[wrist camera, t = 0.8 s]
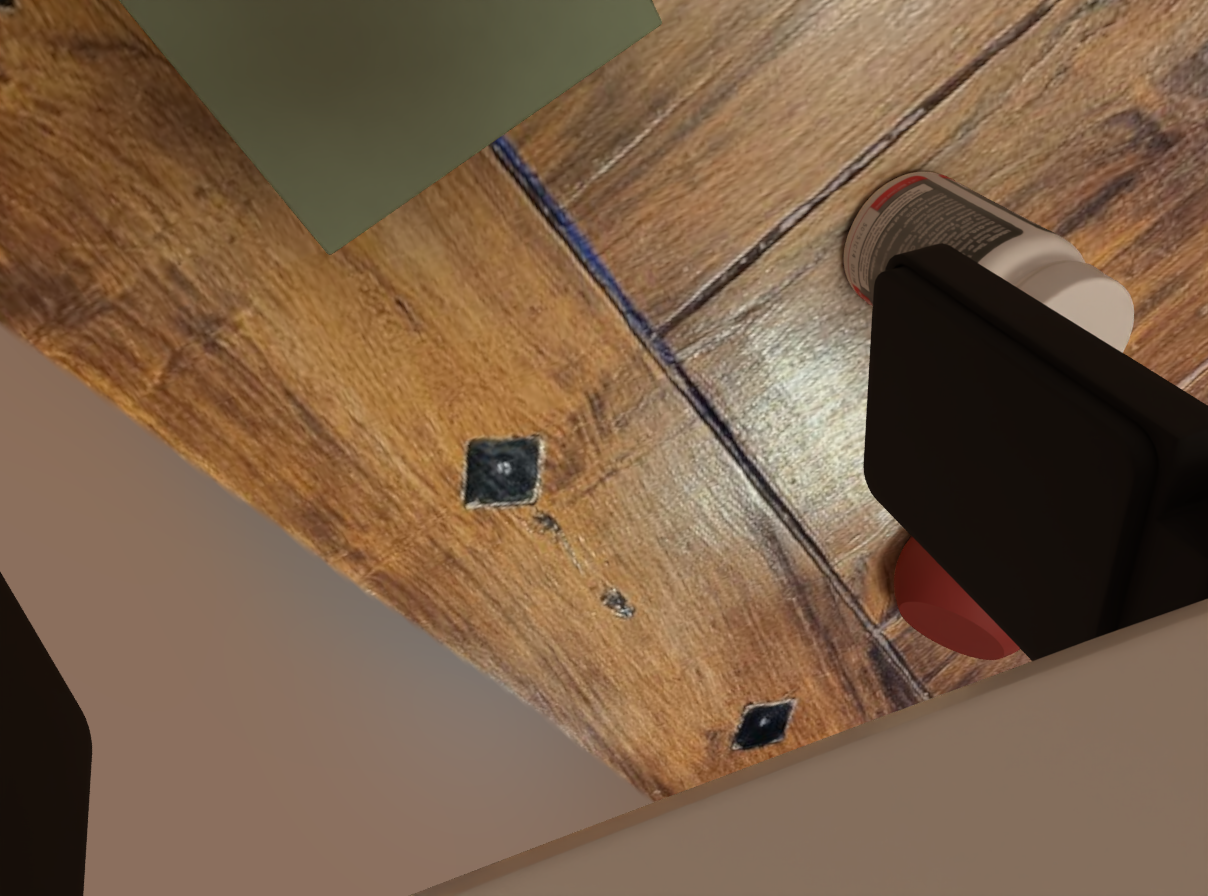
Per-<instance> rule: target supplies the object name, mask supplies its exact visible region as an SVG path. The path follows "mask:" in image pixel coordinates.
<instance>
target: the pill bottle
mask: <svg viewBox="0 0 1208 896" xmlns="http://www.w3.org/2000/svg"><path fill="white" fill-rule="evenodd" d="M940 243H944V244H947V245H949V246H951V247H953V248H954V249H956V250H958V251H959V252H961V253H962V254H964V255H966V256H967V257H969V258H970V259H972V260H974V261H975V262H977V263H979V264H980V265H982V266H983V267H985V268H987V269H988V270H990V271H991V272H993V273H995V274H996V275H998V276H1000V277H1001V278H1003V279H1004V280H1006V281H1008V282H1009V283H1011V284H1012V285H1014V286H1016V287H1017V288H1019V289H1020V290H1022V291H1024V292H1025V293H1027V294H1029V295H1030V296H1032V297H1033V298H1035V299H1037V300H1038V301H1040V302H1041V303H1043V304H1045V305H1046V306H1048V307H1049V308H1051V309H1053V310H1054V311H1056V312H1058V313H1059V314H1061V315H1062V316H1064V317H1066V318H1067V319H1069V320H1070V321H1072V322H1074V323H1075V324H1077V325H1078V326H1080V327H1082V328H1083V329H1085V330H1087V331H1088V332H1090V333H1091V334H1093V335H1095V336H1096V337H1098V338H1099V339H1101V340H1103V341H1104V342H1106V343H1107V344H1109V345H1111V346H1112V347H1114V348H1116V349H1117V350H1119V351H1120V352H1122V353H1123V351H1124V349H1125V347H1126V345H1127V343H1128V341H1129V338H1130V335H1131V331H1132V328H1133V322H1134V307H1133V303H1132V299H1131V296H1130V294H1129V292H1128V291H1127V290H1126V289H1125V287H1124V286H1123V285H1121V284H1120V283H1119V282H1118V281H1116V280H1114V279H1112V278H1111V277H1109V276H1107V275H1106V274H1104V273H1103V272H1101V271H1100V270H1099V269H1097V268H1096V267H1094V266H1092V265H1090V264H1087V263H1085V261H1084V259H1083V257H1082V255H1081V254H1080V252H1079V251H1078V250H1077V249H1076V248H1075V247H1074V246H1073V245H1072V244H1071V243H1070V242H1068V241H1067V240H1065V239H1064V238H1062V237H1060V236H1059V235H1057V234H1055V233H1054V232H1052V231H1049V230H1047V229H1045V228H1043V227H1041V226H1039V225H1037V224H1036V223H1034V222H1032V221H1030V220H1028V219H1026V218H1024V217H1022V216H1020V215H1018V214H1016V213H1014V212H1012V211H1010V210H1008V209H1007V208H1005V207H1003V206H1001V205H999V204H997V203H995V202H993V201H991V200H989V199H987V198H986V197H984V196H982V195H980V194H978V193H976V192H974V191H973V190H971V189H969V188H967V187H965V186H964V185H962V184H960V183H958V182H956V181H955V180H953V179H951V178H948V177H946V176H944V175H941V174H938V173H933V172H914V173H909V174H905V175H903V176H900V177H898V178H896V179H893V180H892V181H890V182H888V183H887V184H885V185H884V186H882V187H881V188H880V189H878V190H877V191H876V192H875V193H874V194H873V195H872V196H871V197H870V198H869V199H868V200H867V201H866V203H865V204H864V205H863V207H862V208H861V209H860V211H859V213H858V214H857V216H856V218H855V220H854V222H853V224H852V226H851V228H850V230H849V233H848V236H847V239H846V243H845V249H844V268H845V273H846V276H847V279H848V281H849V283H850V285H851V287H852V288H853V289H854V291H855V292H856V293H857V294H858V295H859V296H860V297H861V298H862V299H863V300H865V301H866V302H867V303H868V304H870V305H871V306H873V293H874V284H875V280H876V278H877V276H878V275H879V274H880V273H881V272H884V271H885V268H886V266H887V263H888V261H889V260H890V259H891V258H892V257H893V256H894V255H897V254H901V253H905V252H909V251H912V250H916V249H920V248H924V247H927V246H931V245H935V244H940Z"/></svg>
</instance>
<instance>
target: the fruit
mask: <svg viewBox="0 0 1208 896" xmlns="http://www.w3.org/2000/svg"><path fill="white" fill-rule="evenodd" d="M894 592H895V598H896V602H897V606H898V608H899V611H900V613H901V615H902V617H903V618H904V619H905V620H906V622H907V623H908V624H910V625H911V626H912V627H913V628H914V629H916V630H917V631H918V632H920V633H921V634H923V635H924V636H926V637H927V638H929V639H931V640H932V641H934V642H936V643H938V644H940V645H942V646H944V647H946V648H948V649H951V650H953V651H956V652H958V653H961V654H964V655H967V656H970V657H974V658H979V659H985V660H996V659H1000V658H1003V657H1006V656H1008V655H1011V654H1013V653H1015V652H1016V651H1018V650H1020V648H1019V647H1018V646H1017V645H1016V644H1015V642H1014V641H1013V640H1012V639H1011V638H1010V637H1009V636H1008V635H1007V634H1006V633H1005V632H1004V631H1003V630H1002V629H1001V628H1000V627H999V626H998V625H997V624H996V623H995V622H994V621H993V620H992V619H991V618H990V617H989V616H988V615H987V613H986V612H985V611H984V610H983V609H982V608H981V607H980V606H979V605H978V604H977V603H976V602H975V601H974V600H973V599H972V598H971V597H970V596H969V595H968V594H967V593H966V592H965V591H964V590H963V589H962V588H961V587H960V586H959V585H958V583H957V582H956V581H955V580H954V579H953V578H952V577H951V576H950V575H949V574H948V573H947V572H946V571H945V570H944V569H943V568H942V567H941V566H940V565H939V564H938V563H937V562H936V561H935V560H934V559H933V558H932V557H931V556H930V554H929V553H928V552H927V551H926V550H925V549H924V548H923V547H922V546H921V545H920V544H919V543H918V542H917V541H916V540H915V539H914V538H913V537H912V536H911V537H910V539H909V540H908V541H907V543H906V544H905V546H904V548H903V549H902V551H901V553H900V556H899V558H898V561H897V564H896V568H895V575H894Z"/></svg>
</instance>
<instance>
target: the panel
mask: <svg viewBox="0 0 1208 896" xmlns="http://www.w3.org/2000/svg"><path fill="white" fill-rule="evenodd" d="M119 1H120V2H121V4H122V5H123V6H124V7H125V8H126V10H127V11H128V12H129V13H130V15H131V16H132V17H133V18H134V19H135V21H136V22H137V23H138V24H139V25H140V27H141V28H142V29H143V30H144V32H145V33H146V34H147V35H148V36H149V38H150V39H151V40H152V41H153V42H154V44H155V45H156V46H157V47H158V49H159V50H160V51H161V52H162V53H163V55H164V56H165V57H166V58H167V60H168V61H169V62H170V63H171V64H172V66H173V67H174V68H175V69H176V70H177V72H178V73H179V74H180V75H181V77H182V78H183V79H184V80H185V81H186V83H187V84H188V85H189V86H190V87H191V89H192V90H193V91H194V92H195V94H196V95H197V96H198V97H199V98H200V100H201V101H202V102H203V103H204V104H205V106H206V107H207V108H208V109H209V111H210V112H211V113H212V114H213V115H214V117H215V118H216V119H217V120H218V121H219V123H220V124H221V125H222V126H223V128H224V129H225V130H226V131H227V132H228V134H229V135H230V136H231V137H232V139H233V140H234V141H235V142H236V143H237V145H238V146H239V147H240V148H241V149H242V151H243V152H244V153H245V154H246V156H247V157H248V158H249V159H250V160H251V162H252V163H253V164H254V165H255V166H256V168H257V169H258V170H259V171H260V173H261V174H262V175H263V176H264V177H265V179H266V180H267V181H268V182H269V183H270V185H271V186H272V187H273V188H274V190H275V191H276V192H277V193H278V194H279V196H280V197H281V198H282V199H283V200H284V202H285V203H286V204H287V205H288V207H289V208H290V209H291V210H292V211H293V213H294V214H295V215H296V216H297V218H298V219H299V220H300V221H301V222H302V224H303V225H304V226H305V227H306V228H307V230H308V231H309V232H310V233H311V235H312V236H313V237H314V238H315V239H316V241H317V242H318V243H319V244H320V245H321V247H322V248H323V249H324V250H325V252H326V253H327V254H329V255H331V254H333V253H334V252H336V251H337V250H339V249H340V248H342V247H343V246H345V245H346V244H347V243H349V242H350V241H352V240H353V239H355V238H356V237H357V236H359V235H360V234H362V233H363V232H365V231H366V230H367V229H369V228H370V227H372V226H373V225H375V224H376V223H377V222H379V221H380V220H382V219H383V218H385V217H386V216H388V215H389V214H390V213H392V212H393V211H395V210H396V209H398V208H399V207H400V206H402V205H403V204H405V203H406V202H408V201H409V200H410V199H412V198H413V197H415V196H416V195H418V194H419V193H421V192H422V191H423V190H425V189H426V188H428V187H429V186H431V185H432V184H433V183H435V182H436V181H438V180H439V179H441V178H442V177H443V176H445V175H446V174H448V173H449V172H451V171H452V170H454V169H455V168H456V167H458V166H459V165H461V164H462V163H464V162H465V161H466V160H468V159H469V158H471V157H472V156H474V155H475V154H476V153H478V152H479V151H481V150H482V149H484V148H485V147H486V146H488V145H489V144H491V143H492V142H494V141H495V140H497V139H498V138H499V137H501V136H502V135H504V134H505V133H507V132H508V131H509V130H511V129H512V128H514V127H515V126H517V125H518V124H519V123H521V122H522V121H524V120H525V119H527V118H528V117H530V116H531V115H532V114H534V113H535V112H537V111H538V110H540V109H541V108H542V107H544V106H545V105H547V104H548V103H550V102H551V101H552V100H554V99H555V98H557V97H558V96H560V95H561V94H563V93H564V92H565V91H567V90H568V89H570V88H571V87H573V86H574V85H575V84H577V83H578V82H580V81H581V80H583V79H584V78H585V77H587V76H588V75H590V74H591V73H593V72H594V71H595V70H597V69H598V68H600V67H601V66H603V65H604V64H606V63H607V62H608V61H610V60H611V59H613V58H614V57H616V56H617V55H618V54H620V53H621V52H623V51H624V50H626V49H627V48H628V47H630V46H631V45H633V44H634V43H636V42H637V41H639V40H640V39H641V38H643V37H644V36H646V35H647V34H649V33H650V32H651V31H653V30H654V29H656V28H657V27H659V26H660V25H661V24H662V21H661V18H660V16H659V14H658V12H657V10H656V8H655V6H654V4H653V1H652V0H119Z"/></svg>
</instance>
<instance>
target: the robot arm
mask: <svg viewBox="0 0 1208 896" xmlns="http://www.w3.org/2000/svg"><path fill="white" fill-rule="evenodd" d="M864 475H865V480H866V482H867V485H868V488H869V489H870V491H871V493H872V495H873V496H874V497H875V498H876V500H877V501H878V502H879V503H880V504H881V505H882V506H883V507H884V508H885V509H886V510H887V511H888V512H889V513H890V514H891V515H892V516H893V517H894V518H895V519H896V520H897V521H898V522H899V523H900V524H901V525H902V527H903V528H904V529H905V530H906V531H907V532H908V533H909V534H910V535H911V536H912V537H913V538H914V539H915V540H916V541H917V542H918V543H919V544H920V545H921V546H922V547H923V548H924V549H925V550H926V551H927V552H928V553H929V554H930V556H931V557H932V558H933V559H934V560H935V561H936V562H937V563H938V564H939V565H940V566H941V567H942V568H943V569H944V570H945V571H946V572H947V573H948V574H949V575H950V576H951V577H952V578H953V579H954V580H955V581H956V582H957V583H958V585H959V586H960V587H961V588H962V589H963V590H964V591H965V592H966V593H967V594H968V595H969V596H970V597H971V598H972V599H973V600H974V601H975V602H976V603H977V604H978V605H979V606H980V607H981V608H982V609H983V610H984V611H985V612H986V613H987V615H988V616H989V617H990V618H991V619H992V620H993V621H994V622H995V623H996V624H997V625H998V626H999V627H1000V628H1001V629H1002V630H1003V631H1004V632H1005V633H1006V634H1007V635H1008V636H1009V637H1010V638H1011V639H1012V640H1013V641H1014V642H1015V644H1016V645H1017V646H1018V647H1019V648H1020V649H1021V650H1022V651H1023V652H1024V653H1025V654H1026V655H1027V656H1028V657H1029V658H1030V659H1031V660H1032V662H1029V663H1026V664H1024V665H1021V666H1018V667H1016V668H1013V669H1010V670H1008V671H1005V672H1002V673H999V674H997V675H994V676H991V677H989V678H986V679H983V680H981V681H978V682H975V683H972V684H970V685H967V686H964V687H962V688H959V689H956V690H953V691H951V692H948V693H945V694H943V695H940V696H937V697H935V698H932V699H929V700H926V701H924V702H921V703H918V704H916V705H913V706H910V707H908V708H905V709H902V710H899V711H897V712H894V713H891V714H889V715H886V716H883V717H880V718H878V719H875V720H872V721H870V722H867V723H864V724H862V725H859V726H856V727H854V728H851V729H848V730H846V731H843V732H840V733H838V734H835V735H832V736H830V737H827V738H824V739H822V740H819V741H816V742H814V743H811V744H808V745H806V746H803V747H800V748H798V749H795V750H792V751H790V752H787V753H784V754H782V755H779V756H776V757H774V758H771V759H768V760H766V761H763V762H760V763H758V764H755V765H752V766H750V767H747V768H744V769H742V770H739V771H736V772H734V773H731V774H728V775H726V776H723V777H720V778H718V779H715V780H712V781H710V782H707V783H704V784H702V785H699V786H697V787H694V788H691V789H689V790H686V791H683V792H681V793H678V794H675V795H673V796H670V797H667V798H665V799H662V800H659V801H657V802H654V803H652V804H649V805H646V806H644V807H641V808H638V809H636V810H633V811H630V812H628V813H625V814H622V815H620V816H617V817H615V818H612V819H609V820H606V821H604V822H601V823H598V824H596V825H593V826H591V827H588V828H585V829H583V830H580V831H577V832H575V833H572V834H569V835H567V836H564V837H562V838H559V839H556V840H553V841H551V842H548V843H546V844H543V845H540V846H538V847H535V848H532V849H530V850H527V851H525V852H522V853H520V854H517V855H514V856H512V857H509V858H507V859H504V860H501V861H498V862H496V863H493V864H491V865H488V866H485V867H483V868H480V869H478V870H475V871H472V872H470V873H467V874H464V875H462V876H459V877H457V878H454V879H451V880H449V881H446V882H444V883H441V884H439V885H436V886H433V887H430V888H428V889H425V890H423V891H420V892H418V893H415V894H412V895H410V896H1208V406H1207V405H1206V404H1204V403H1203V402H1201V401H1199V400H1198V399H1196V398H1194V397H1193V396H1191V395H1190V394H1188V393H1186V392H1185V391H1183V390H1182V389H1180V388H1178V387H1177V386H1175V385H1174V384H1172V383H1170V382H1169V381H1167V380H1165V379H1164V378H1162V377H1161V376H1159V375H1157V374H1156V373H1154V372H1153V371H1151V370H1149V369H1148V368H1146V367H1145V366H1143V365H1141V364H1140V363H1138V362H1136V361H1135V360H1133V359H1132V358H1130V357H1128V356H1127V355H1125V354H1124V353H1122V352H1120V351H1119V350H1117V349H1116V348H1114V347H1112V346H1111V345H1109V344H1107V343H1106V342H1104V341H1103V340H1101V339H1099V338H1098V337H1096V336H1095V335H1093V334H1091V333H1090V332H1088V331H1087V330H1085V329H1083V328H1082V327H1080V326H1078V325H1077V324H1075V323H1074V322H1072V321H1070V320H1069V319H1067V318H1066V317H1064V316H1062V315H1061V314H1059V313H1058V312H1056V311H1054V310H1053V309H1051V308H1049V307H1048V306H1046V305H1045V304H1043V303H1041V302H1040V301H1038V300H1037V299H1035V298H1033V297H1032V296H1030V295H1029V294H1027V293H1025V292H1024V291H1022V290H1020V289H1019V288H1017V287H1016V286H1014V285H1012V284H1011V283H1009V282H1008V281H1006V280H1004V279H1003V278H1001V277H1000V276H998V275H996V274H995V273H993V272H991V271H990V270H988V269H987V268H985V267H983V266H982V265H980V264H979V263H977V262H975V261H974V260H972V259H970V258H969V257H967V256H966V255H964V254H962V253H961V252H959V251H958V250H956V249H954V248H953V247H951V246H949V245H947V244H944V243H940V244H935V245H931V246H927V247H924V248H920V249H916V250H912V251H909V252H905V253H901V254H897V255H894V256H893V257H892V258H891V259H890V260H889V261H888V263H887V266H886V268H885V271H884V272H881V273H880V274H879V275H878V276H877V278H876V280H875V284H874V293H873V311H872V328H871V345H870V363H869V380H868V398H867V415H866V433H865V450H864ZM91 762H92V741H91V735H90V730H89V726H88V724H87V721H86V718H85V716H84V714H83V712H82V710H81V708H80V707H79V705H78V703H77V701H76V700H75V698H74V696H73V695H72V693H71V691H70V690H69V688H68V686H67V685H66V683H65V681H64V679H63V678H62V676H61V674H60V673H59V671H58V669H57V667H56V666H55V664H54V662H53V661H52V659H51V657H50V656H49V654H48V652H47V650H46V649H45V647H44V645H43V644H42V642H41V640H40V638H39V637H38V635H37V633H36V632H35V630H34V628H33V627H32V625H31V623H30V622H29V620H28V618H27V616H26V615H25V613H24V611H23V610H22V608H21V606H20V604H19V603H18V601H17V599H16V598H15V596H14V594H13V593H12V591H11V589H10V587H9V586H8V584H7V583H6V581H5V579H4V577H3V576H2V574H1V572H0V896H83V891H84V875H85V859H86V842H87V826H88V810H89V794H90V777H91Z"/></svg>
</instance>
